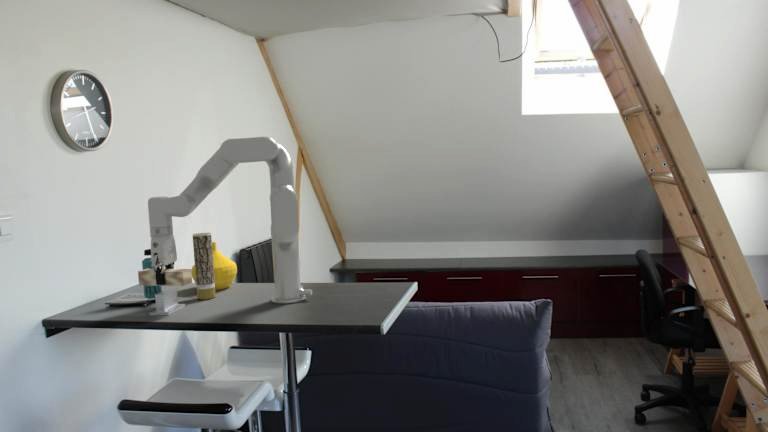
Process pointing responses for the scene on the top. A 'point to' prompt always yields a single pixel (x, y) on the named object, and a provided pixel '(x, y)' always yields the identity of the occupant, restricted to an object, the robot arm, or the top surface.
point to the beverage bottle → (149, 289)
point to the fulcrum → (167, 302)
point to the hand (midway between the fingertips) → (165, 282)
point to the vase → (221, 269)
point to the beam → (166, 277)
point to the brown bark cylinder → (204, 265)
